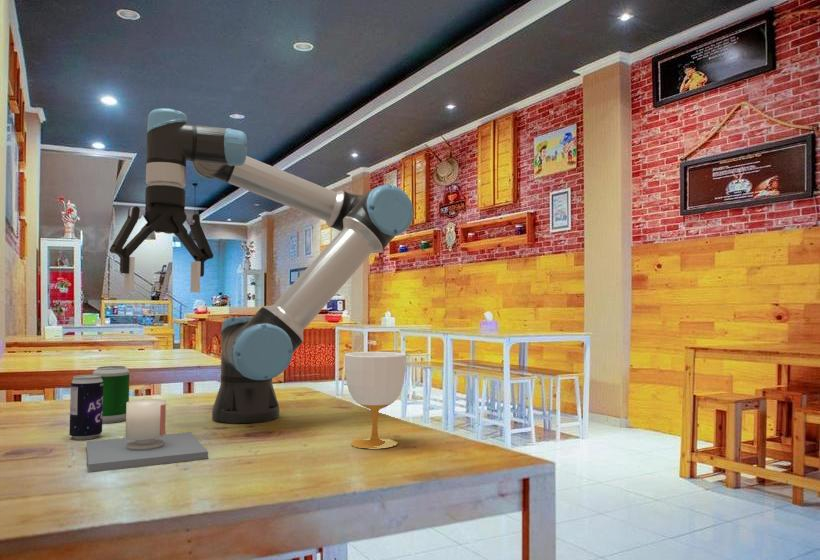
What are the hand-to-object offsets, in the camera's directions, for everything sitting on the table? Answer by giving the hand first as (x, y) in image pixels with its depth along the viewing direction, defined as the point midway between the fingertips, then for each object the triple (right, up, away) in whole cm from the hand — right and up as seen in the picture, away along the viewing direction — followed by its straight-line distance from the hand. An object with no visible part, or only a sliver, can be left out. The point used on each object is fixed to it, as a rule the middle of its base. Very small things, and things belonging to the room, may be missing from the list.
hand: (163, 292), depth 122 cm
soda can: (-18, -29, +14) cm, 37 cm away
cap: (+3, -25, -15) cm, 30 cm away
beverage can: (-14, -29, -3) cm, 32 cm away
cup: (+43, -29, -7) cm, 52 cm away
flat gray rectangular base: (+3, -28, -15) cm, 32 cm away
